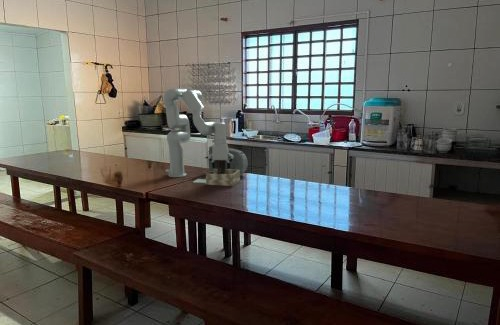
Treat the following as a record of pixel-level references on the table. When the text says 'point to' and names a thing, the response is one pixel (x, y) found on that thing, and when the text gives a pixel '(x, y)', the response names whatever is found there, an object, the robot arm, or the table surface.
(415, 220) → the table surface
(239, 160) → the decorative stone tablet
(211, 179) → the beige woven basket
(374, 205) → the table surface
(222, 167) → the statue
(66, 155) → the table surface
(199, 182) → the mat
